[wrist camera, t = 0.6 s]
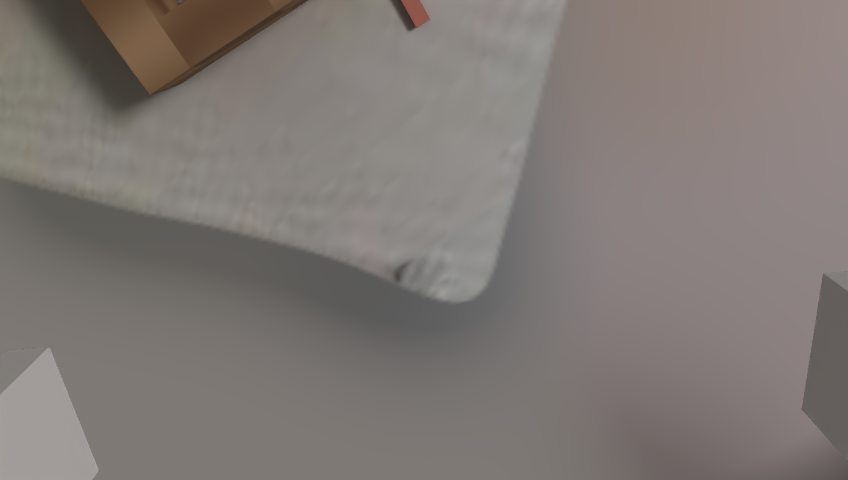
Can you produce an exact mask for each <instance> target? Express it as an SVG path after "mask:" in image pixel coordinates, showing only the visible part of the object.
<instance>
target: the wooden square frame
mask: <svg viewBox="0 0 848 480" xmlns="http://www.w3.org/2000/svg"><path fill="white" fill-rule="evenodd" d="M80 1H81V2H82V3H83V5H84V6H85V8H86V9H87V10H88V12H89V13H90V14H91V16H92V17H93V18H94V20H95V21H96V22H97V24H98V25H99V27H100V28H101V29H102V31H103V32H104V33H105V35H106V36H107V37H108V39H109V40H110V41H111V43H112V44H113V46H114V47H115V48H116V50H117V51H118V52H119V54H120V55H121V56H122V58H123V59H124V60H125V62H126V63H127V65H128V66H129V67H130V69H131V70H132V71H133V73H134V74H135V75H136V77H137V78H138V79H139V81H140V82H141V83H142V85H143V86H144V88H145V89H146V90H147V92H148V93H149V94H150V95H151V94H154V93H157V92H159V91H162V90H165V89H168V88H170V87H173V86H176V85H179V84H181V83H183V82H184V81H186V80H187V79H189V78H190V77H192V76H193V75H195V74H196V73H198V72H199V71H201V70H202V69H204V68H205V67H207V66H208V65H210V64H212V63H213V62H215V61H216V60H218V59H219V58H221V57H222V56H224V55H225V54H227V53H228V52H230V51H231V50H233V49H234V48H236V47H237V46H239V45H240V44H242V43H243V42H245V41H247V40H248V39H250V38H251V37H253V36H254V35H256V34H257V33H259V32H260V31H262V30H263V29H265V28H266V27H268V26H269V25H271V24H272V23H274V22H275V21H277V20H279V19H280V18H282V17H283V16H285V15H286V14H288V13H289V12H291V11H292V10H294V9H295V8H297V7H298V6H300V5H301V4H303V3H304V2H306V1H307V0H185V1H184V2H183V3H181V4H179V3H178V2H177V0H80Z"/></svg>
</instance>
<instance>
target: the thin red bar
mask: <svg viewBox="0 0 848 480" xmlns="http://www.w3.org/2000/svg"><path fill="white" fill-rule="evenodd" d="M401 1H402V3H403V5H404V6H405V8H406V10H407V12H408V14H409V15H410V17H411V19H412V21H413V23H414V24H415V26H416V28H417V27H418V26H420V25H422V24H423V23H425V22H426V21H428V20H430V19H429V17H428V15H427V13H426V12H425V10H424V8H423V6H422V4H421V2H420V1H419V0H401Z"/></svg>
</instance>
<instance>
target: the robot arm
mask: <svg viewBox="0 0 848 480" xmlns="http://www.w3.org/2000/svg"><path fill="white" fill-rule="evenodd" d="M802 410H803V411H804V412H805V414H806V415H807V416H808V417H809V418H810V419H811V420H812V421H813V423H814V424H815V425H816V426H817V427H818V428H819V429H820V430H821V432H822V433H823V434H824V435H825V436H826V437H827V438H828V439H829V441H830V442H831V443H832V444H833V445H834V446H835V447H836V448H837V450H838V451H839V452H840V453H841V454H842V455H843V456H844V458H845V459H846V460H847V461H848V271H842V272H831V273H823V278H822V284H821V291H820V297H819V303H818V310H817V317H816V323H815V329H814V336H813V342H812V348H811V354H810V361H809V367H808V374H807V380H806V386H805V392H804V399H803V405H802ZM97 472H98V467H97V465H96V462H95V460H94V457H93V455H92V452H91V450H90V447H89V445H88V442H87V440H86V437H85V435H84V432H83V430H82V428H81V425H80V422H79V420H78V418H77V415H76V412H75V410H74V407H73V405H72V403H71V400H70V397H69V395H68V393H67V390H66V388H65V385H64V383H63V380H62V378H61V375H60V373H59V370H58V368H57V365H56V363H55V360H54V358H53V355H52V353H51V350H50V348H49V347H43V348H32V349H22V350H11V351H6V352H5V353H4V354H3V355H1V356H0V480H92V479H93V478H94V476H95V475H96V473H97Z"/></svg>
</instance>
